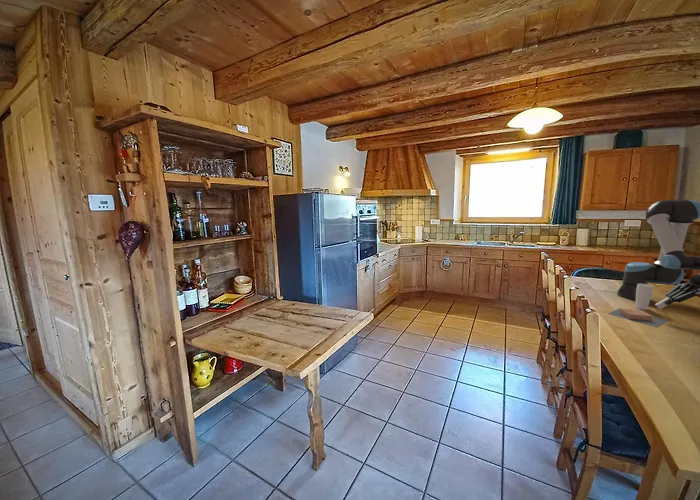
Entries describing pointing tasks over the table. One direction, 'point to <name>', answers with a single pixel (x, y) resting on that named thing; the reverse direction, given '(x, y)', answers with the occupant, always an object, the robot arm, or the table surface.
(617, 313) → the mat
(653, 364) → the table surface
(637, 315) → the tile
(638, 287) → the white rectangular block
